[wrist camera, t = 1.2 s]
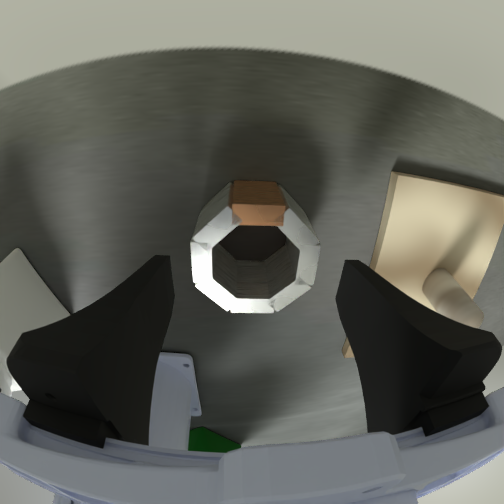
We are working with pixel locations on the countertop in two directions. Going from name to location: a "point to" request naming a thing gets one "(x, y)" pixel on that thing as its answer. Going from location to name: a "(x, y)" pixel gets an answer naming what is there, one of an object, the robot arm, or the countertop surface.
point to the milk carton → (209, 442)
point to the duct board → (437, 243)
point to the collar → (253, 272)
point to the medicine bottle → (22, 309)
